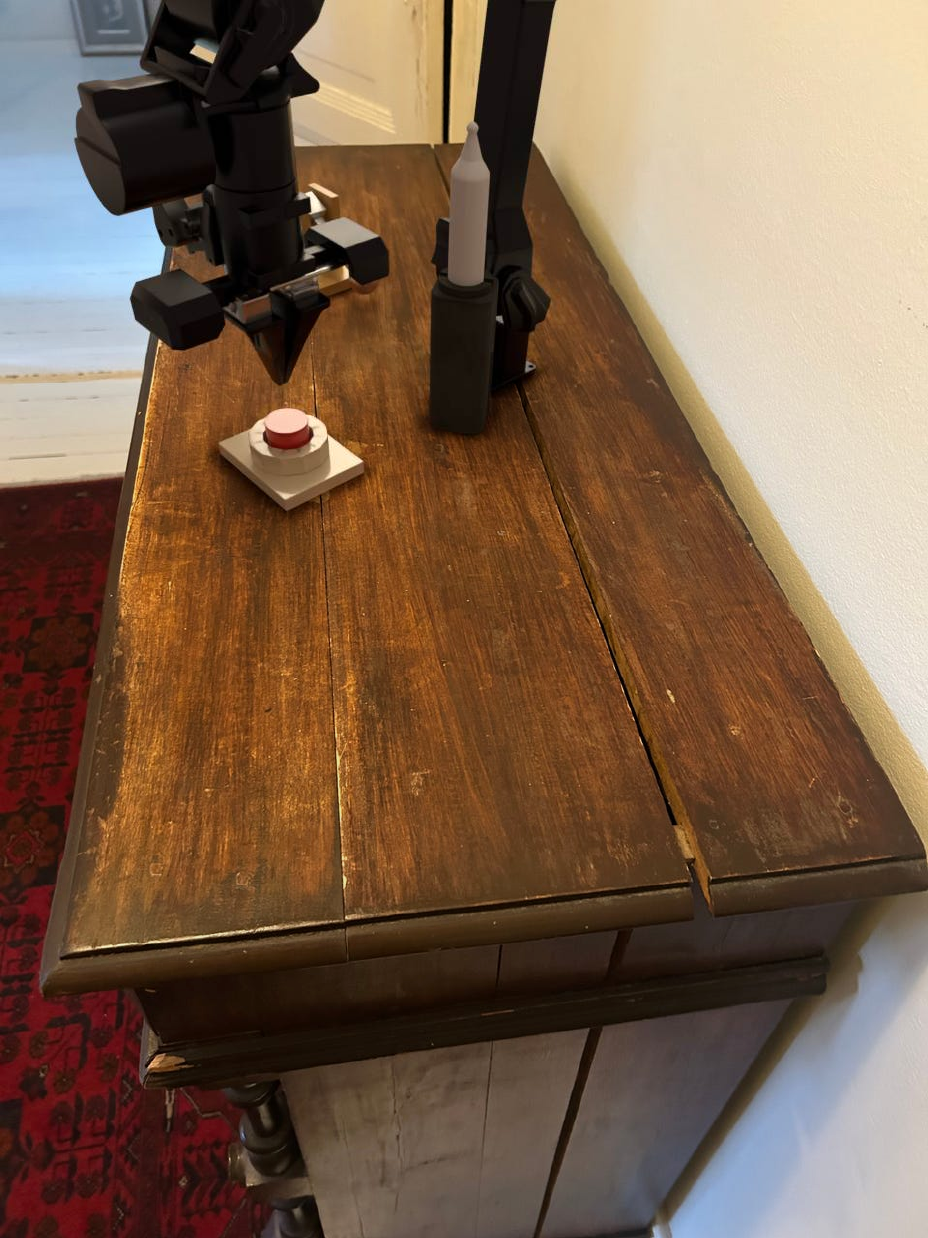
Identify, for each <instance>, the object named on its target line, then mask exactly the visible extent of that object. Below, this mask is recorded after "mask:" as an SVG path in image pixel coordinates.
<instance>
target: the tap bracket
mask: <svg viewBox="0 0 928 1238" xmlns="http://www.w3.org/2000/svg"><path fill="white" fill-rule="evenodd" d="M308 192H313V194H314V195H315V196H316V197H317V199H318V200H319V201H320V202H321V203H322V205H323V206H324V207H325V208H326V215H325V221H326V222H329V221H332V220H335V219H338V218H341V208H340V207H341V206H340V196H339V194H336V193H334V192H333V191H331V190H329V189H327V188H326V187H323V186H322V185H320V184H318V183H316V182H314V183H308V184H307V193H308ZM301 220H302V231H303V235H304V234H305V232H306V231H307V230H308V228H309V227H310V221H309V213H308V214H304V215H301ZM303 242H304V238H303ZM317 283H318V284H319V291H320V292H321V293H323V294H324V295H326V296H327V297H330V296H333V295H337V294H338V293H341V292H344V291H346V290H350V289H352V287H351V286H350V283H349V273H348V269H347V268H346V267H345V266H342V267H340V268H338V269H335V270H333V271H330V272H327V273H324V274H321V275H318V282H317Z"/></svg>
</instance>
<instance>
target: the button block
mask: <svg viewBox="0 0 928 1238" xmlns="http://www.w3.org/2000/svg"><path fill="white" fill-rule="evenodd" d="M306 415H307V417H308V421H309V430H310V440H309V442H308V443H307V444H306V445H304V446H302V447H300V448H298V449H289V450H282V449H278V448H273V447H271V446H270V445H269V444H268V442H267V437H266V431H265V424H264V421H265V418H266V417H264V418H261V419H259V420H257V421H256V422H255V424H254V425H253V426H252V427H251V428H249V429H246V430H245V431H242V432H239V433H238V434H235V435H233V436H231V437H228V438H226V439H224V440H222V441H219V442H217V443H218V449H219V453H220V455H221V456H222V457H223V458H224V459H226V460H227V461H228V462H229V463H231V464H232V466H234V467H235V468H236V469H237V470H239V472H241V473H242V474H243V475H244V476H245V477H247V478H248V479H249V480H250V481H251V482H253V483H254V484H255V485H256V486H257V487H258V488H259V489H260V490H262V491H263V492H264V493H265V494H266V495H267V496H268V497H269V498H271V499H272V500H274V502H275V503H277V504H278V505H279V506H280V507H281V508H282V509H284V511H286V512H288V511H290V510H292V509H294V508H296V507H299V506H300V505H302V504H304V503H306V502H307V501H308V502H309V501H310V500H312V499H315V498H316V497H318V496H320V495H322V494H324V493H326V492H329V491H331V490H332V489H334V488H337V487H338V486H341V485H342V484H344V483H347V482H348V481H350V480H352V479H354V478H357V477H358V476H360V475H362V474H364V473H365V463H364V460H363V459H361V458H360V457H358V456H356V454H354V453H353V452H352V451H350V450H349V449H348V448H346V447H345V446H344V445H343V444H341V443H340V442H338V440H336V439H335V438H333V437H332V436H331V435H329V434H328V429H327V425H326V423H323V421H321V420H320V419H318V418H317V417H316V416H314V415H312V414H311V415H310V414H306Z"/></svg>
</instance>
